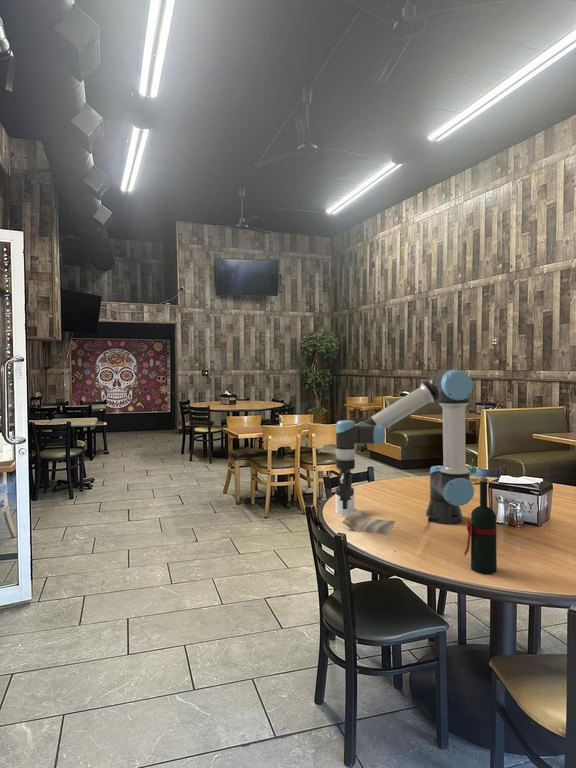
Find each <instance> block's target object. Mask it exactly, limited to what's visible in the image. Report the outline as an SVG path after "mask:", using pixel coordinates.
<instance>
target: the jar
mask: <svg viewBox="0 0 576 768" xmlns="http://www.w3.org/2000/svg"><path fill="white" fill-rule="evenodd" d="M354 489H355V488H354V487H352V486H351V497H350V498H351V500H349V514H350V513H351V512H352V511H353V510H354V508H355V490H354ZM334 500H335V504H334V505H335V513H336V514H337V515H342V501H340V488H339V486H338V487H335V499H334Z"/></svg>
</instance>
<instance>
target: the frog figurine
mask: <svg viewBox="0 0 576 768" xmlns="http://www.w3.org/2000/svg"><path fill="white" fill-rule="evenodd" d="M474 460H475V459H474V458H472V460H471V464H470V463H468V466H467V467H466V468H467V469H468V470H469V471H470V482H471V483H472V485H475V484H476V483H477V484H480V481H481V480H480V477H486V476H485V474H482V473H481V474H479V475H478V473H477V466H475V464H474V462H475V461H474ZM471 476H473V477H474V478H471ZM486 478H487V481H488V482H487V484H488V483H490V481H489V479H488V477H486Z"/></svg>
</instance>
